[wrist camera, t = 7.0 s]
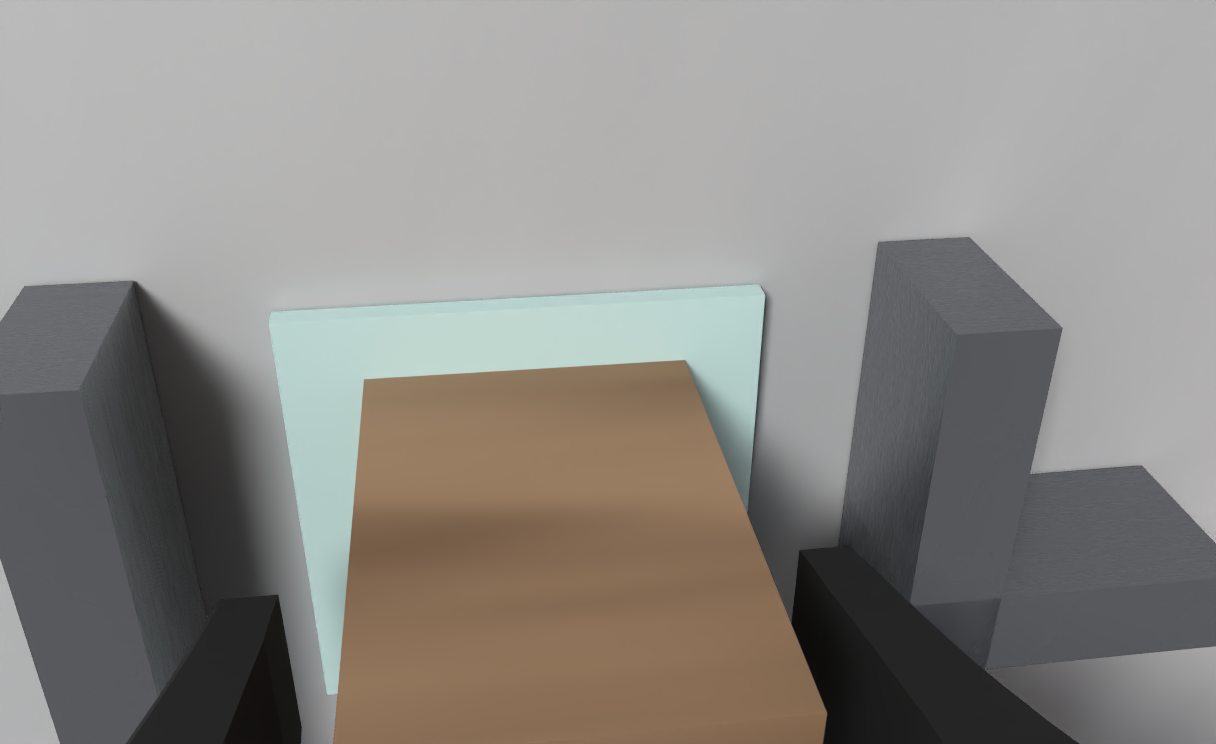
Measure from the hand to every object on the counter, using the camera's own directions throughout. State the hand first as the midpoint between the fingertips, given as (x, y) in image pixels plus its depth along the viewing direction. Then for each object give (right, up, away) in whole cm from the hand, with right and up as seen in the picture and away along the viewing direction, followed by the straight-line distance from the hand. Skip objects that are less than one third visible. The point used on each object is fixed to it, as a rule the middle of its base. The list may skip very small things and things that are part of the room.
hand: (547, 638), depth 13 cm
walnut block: (0, +1, +2) cm, 3 cm away
